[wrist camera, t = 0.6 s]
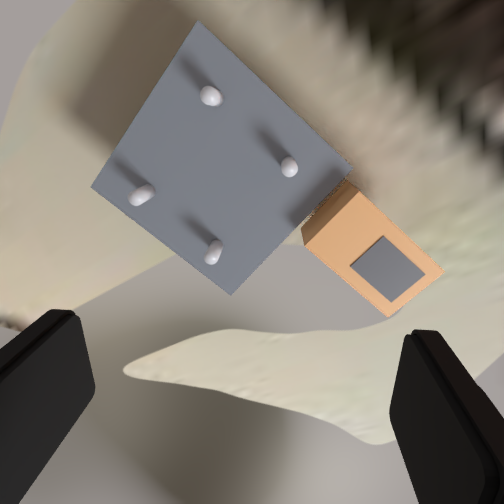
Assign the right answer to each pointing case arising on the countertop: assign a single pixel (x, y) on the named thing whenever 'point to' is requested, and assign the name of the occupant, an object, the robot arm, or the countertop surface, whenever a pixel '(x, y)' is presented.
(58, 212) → the countertop surface
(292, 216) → the pin tray
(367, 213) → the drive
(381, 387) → the countertop surface
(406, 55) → the countertop surface
